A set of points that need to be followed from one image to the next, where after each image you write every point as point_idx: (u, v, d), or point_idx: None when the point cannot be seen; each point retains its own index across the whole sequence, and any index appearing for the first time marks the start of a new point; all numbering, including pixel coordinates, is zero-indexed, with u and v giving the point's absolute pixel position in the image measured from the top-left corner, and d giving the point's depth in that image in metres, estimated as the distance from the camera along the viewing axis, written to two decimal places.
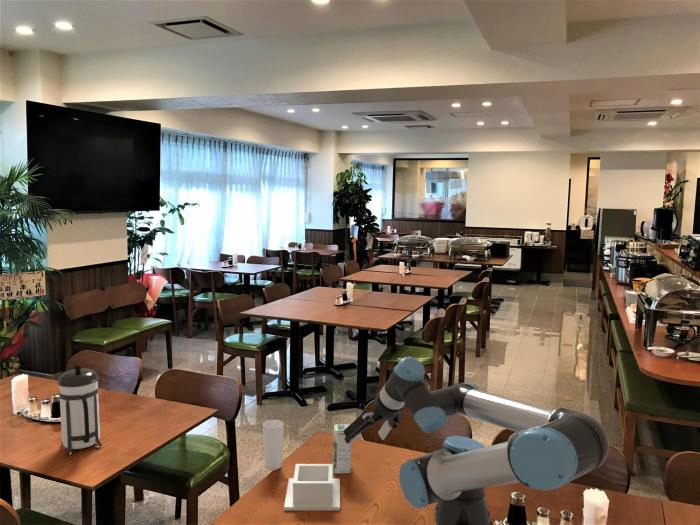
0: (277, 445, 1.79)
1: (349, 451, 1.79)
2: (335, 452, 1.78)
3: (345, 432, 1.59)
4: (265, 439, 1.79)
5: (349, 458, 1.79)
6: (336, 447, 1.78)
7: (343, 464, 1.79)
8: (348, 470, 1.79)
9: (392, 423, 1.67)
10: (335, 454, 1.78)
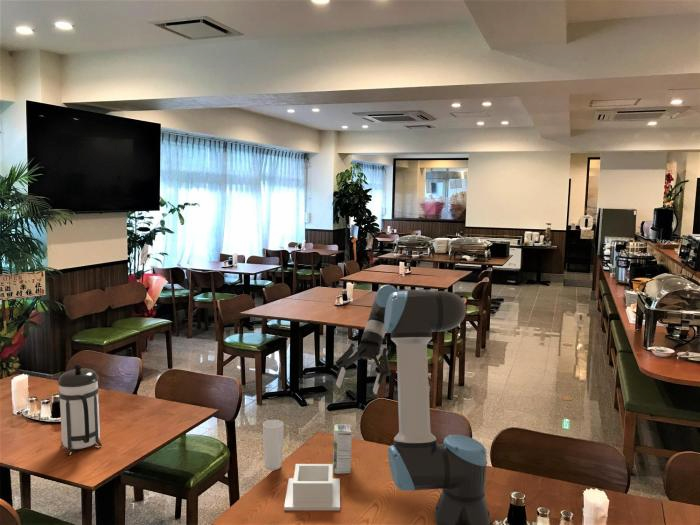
0: (277, 445, 1.79)
1: (349, 451, 1.79)
2: (335, 452, 1.78)
3: None
4: (265, 439, 1.79)
5: (349, 458, 1.79)
6: (336, 447, 1.78)
7: (343, 464, 1.79)
8: (348, 470, 1.79)
9: (379, 367, 1.90)
10: (335, 454, 1.78)
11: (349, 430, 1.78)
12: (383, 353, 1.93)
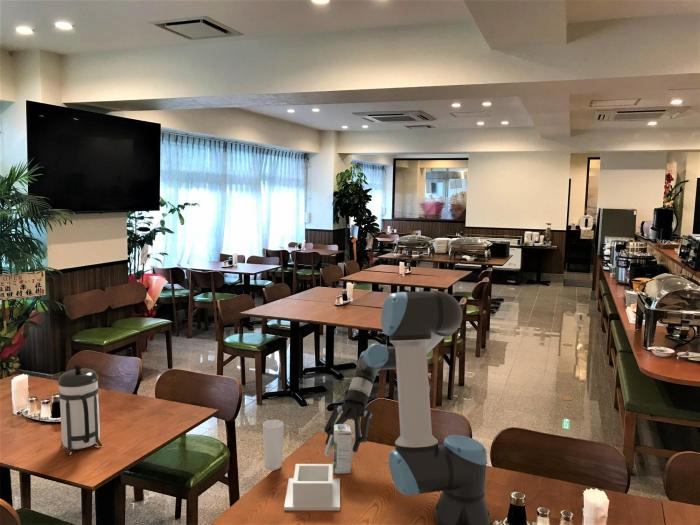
0: (277, 445, 1.79)
1: None
2: (335, 452, 1.78)
3: None
4: (265, 439, 1.79)
5: None
6: (336, 447, 1.78)
7: (343, 464, 1.79)
8: (348, 470, 1.79)
9: (356, 432, 1.81)
10: (335, 454, 1.78)
11: (348, 430, 1.78)
12: (366, 416, 1.83)
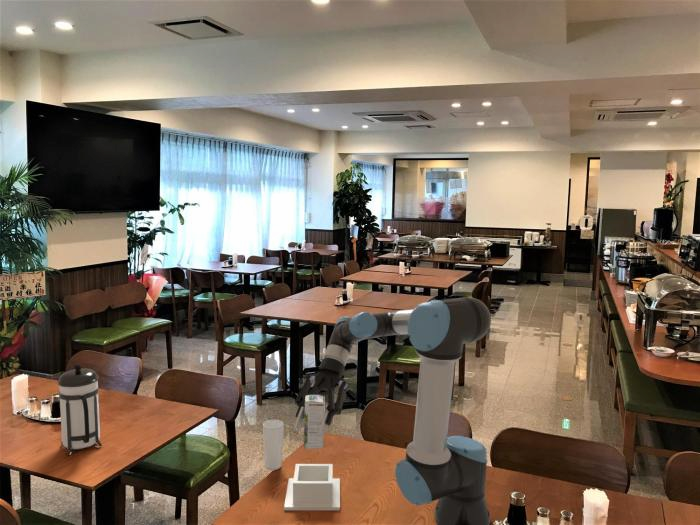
0: (277, 445, 1.79)
1: None
2: (306, 425, 1.61)
3: None
4: (265, 439, 1.79)
5: None
6: (307, 419, 1.61)
7: (314, 439, 1.61)
8: (320, 445, 1.62)
9: (329, 403, 1.63)
10: (306, 427, 1.61)
11: (320, 401, 1.61)
12: (340, 386, 1.66)
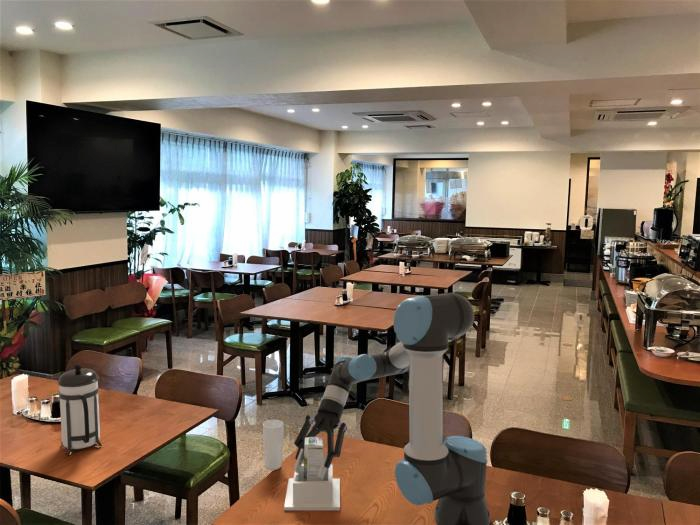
0: (277, 445, 1.79)
1: None
2: (305, 468, 1.62)
3: None
4: (265, 439, 1.79)
5: None
6: (306, 462, 1.62)
7: None
8: None
9: (329, 445, 1.65)
10: (305, 470, 1.62)
11: (320, 444, 1.62)
12: (340, 428, 1.67)
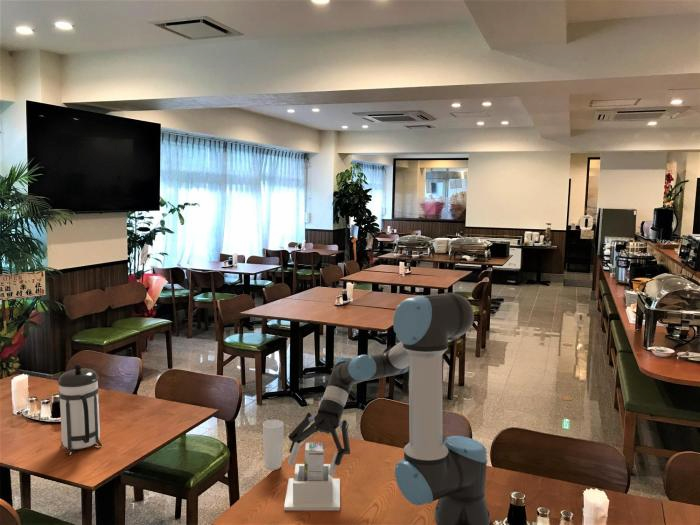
0: (277, 445, 1.79)
1: (321, 472, 1.63)
2: (305, 473, 1.62)
3: None
4: (265, 439, 1.79)
5: (321, 480, 1.63)
6: (307, 468, 1.62)
7: None
8: None
9: (337, 444, 1.65)
10: (305, 475, 1.63)
11: (320, 450, 1.63)
12: (342, 426, 1.68)
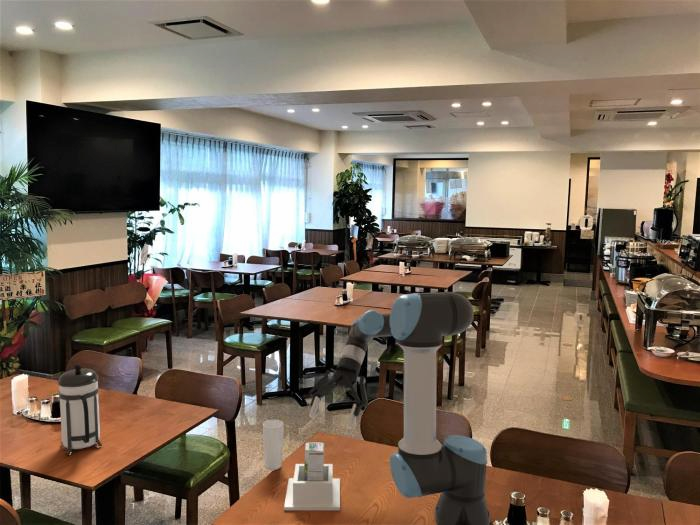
0: (277, 445, 1.79)
1: (321, 472, 1.63)
2: (305, 473, 1.62)
3: None
4: (265, 439, 1.79)
5: (321, 480, 1.63)
6: (307, 468, 1.62)
7: None
8: None
9: (355, 397, 1.75)
10: (305, 475, 1.63)
11: (320, 450, 1.63)
12: (360, 381, 1.78)
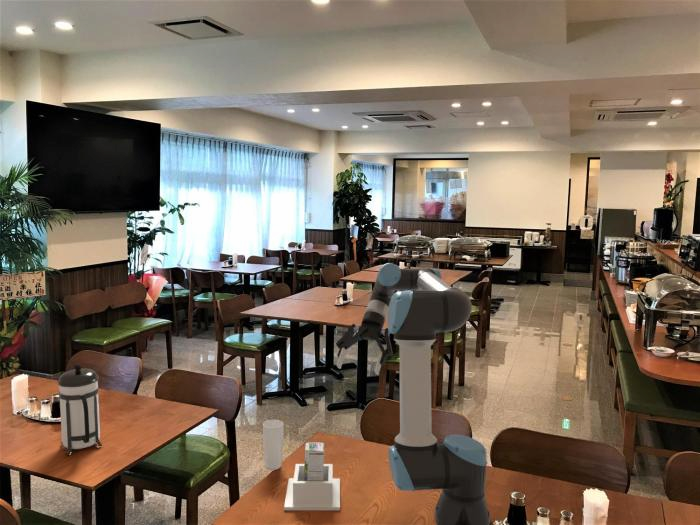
0: (277, 445, 1.79)
1: (321, 472, 1.63)
2: (305, 473, 1.62)
3: None
4: (265, 439, 1.79)
5: (321, 480, 1.63)
6: (307, 468, 1.62)
7: None
8: None
9: (381, 347, 1.84)
10: (306, 475, 1.63)
11: (320, 450, 1.63)
12: (385, 333, 1.87)
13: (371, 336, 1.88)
